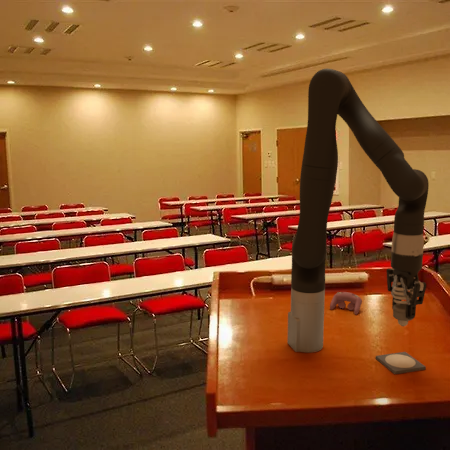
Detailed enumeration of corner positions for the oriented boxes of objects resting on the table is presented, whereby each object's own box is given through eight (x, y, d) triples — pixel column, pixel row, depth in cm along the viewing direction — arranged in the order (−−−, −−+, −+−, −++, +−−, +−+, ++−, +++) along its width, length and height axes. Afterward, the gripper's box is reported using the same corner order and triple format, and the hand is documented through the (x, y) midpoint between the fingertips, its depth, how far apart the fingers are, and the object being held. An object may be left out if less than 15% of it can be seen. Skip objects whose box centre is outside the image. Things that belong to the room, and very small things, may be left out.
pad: (394, 374, 135) (394, 371, 135) (375, 358, 143) (375, 355, 143) (425, 369, 137) (425, 366, 137) (405, 354, 146) (405, 351, 145)
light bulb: (418, 325, 138) (420, 281, 136) (408, 332, 134) (411, 286, 132) (397, 320, 142) (399, 277, 139) (387, 326, 138) (389, 282, 135)
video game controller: (360, 316, 176) (364, 295, 178) (357, 314, 172) (361, 293, 174) (332, 310, 181) (336, 290, 183) (328, 309, 178) (332, 288, 179)
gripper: (378, 244, 139) (375, 305, 143) (411, 259, 126) (407, 326, 130) (403, 242, 141) (399, 302, 145) (438, 256, 128) (433, 322, 131)
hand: (403, 313), depth 137 cm, fingers closed on light bulb, 5 cm apart
